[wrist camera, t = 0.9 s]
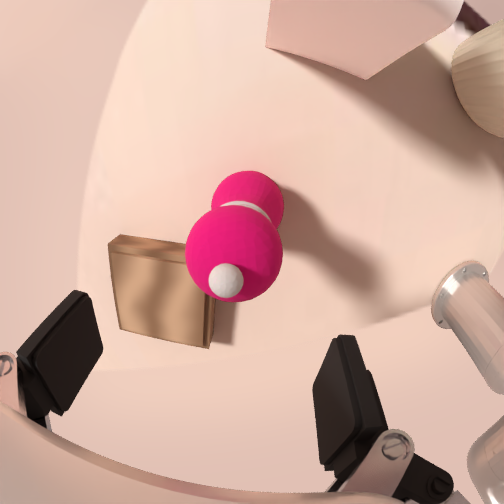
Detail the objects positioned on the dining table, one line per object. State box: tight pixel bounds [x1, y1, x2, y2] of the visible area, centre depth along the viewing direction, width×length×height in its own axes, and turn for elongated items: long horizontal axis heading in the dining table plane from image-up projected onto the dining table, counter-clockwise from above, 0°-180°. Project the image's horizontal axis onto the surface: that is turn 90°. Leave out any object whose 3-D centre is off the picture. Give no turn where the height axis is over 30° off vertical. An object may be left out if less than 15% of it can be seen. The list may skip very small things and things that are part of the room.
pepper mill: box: [185, 171, 284, 302], centre depth 22 cm, size 7×7×20 cm
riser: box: [108, 234, 215, 349], centre depth 35 cm, size 14×14×4 cm
